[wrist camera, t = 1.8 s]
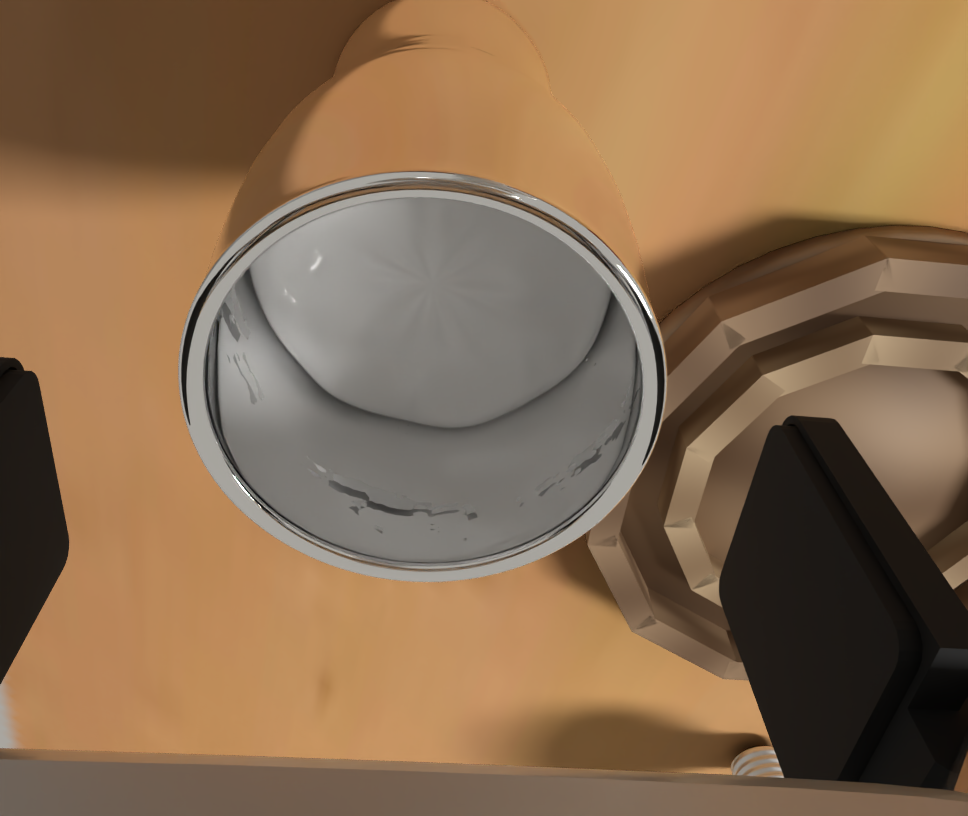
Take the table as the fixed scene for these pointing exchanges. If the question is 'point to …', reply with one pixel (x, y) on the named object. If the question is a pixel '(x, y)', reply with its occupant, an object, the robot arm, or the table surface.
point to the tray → (801, 392)
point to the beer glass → (426, 313)
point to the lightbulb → (757, 763)
